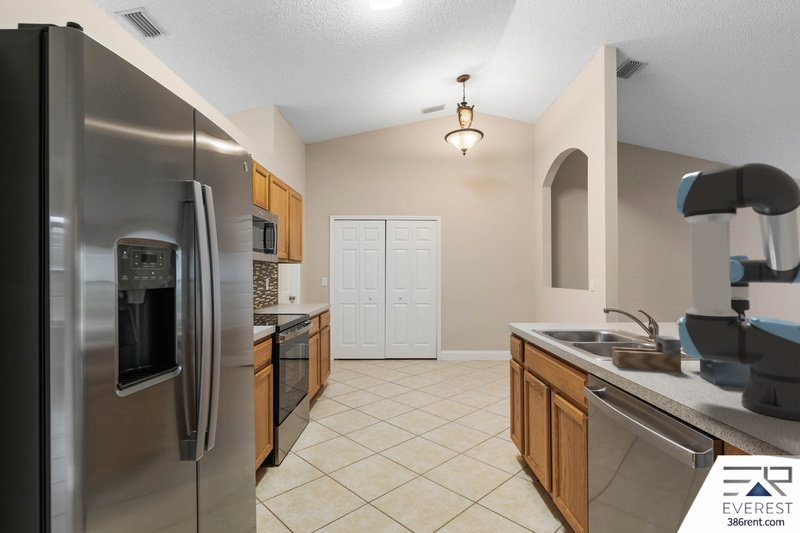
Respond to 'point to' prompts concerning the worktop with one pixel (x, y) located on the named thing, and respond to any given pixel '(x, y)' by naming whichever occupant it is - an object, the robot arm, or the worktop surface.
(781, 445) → the worktop surface
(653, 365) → the wooden box
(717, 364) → the v block
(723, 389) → the worktop surface
